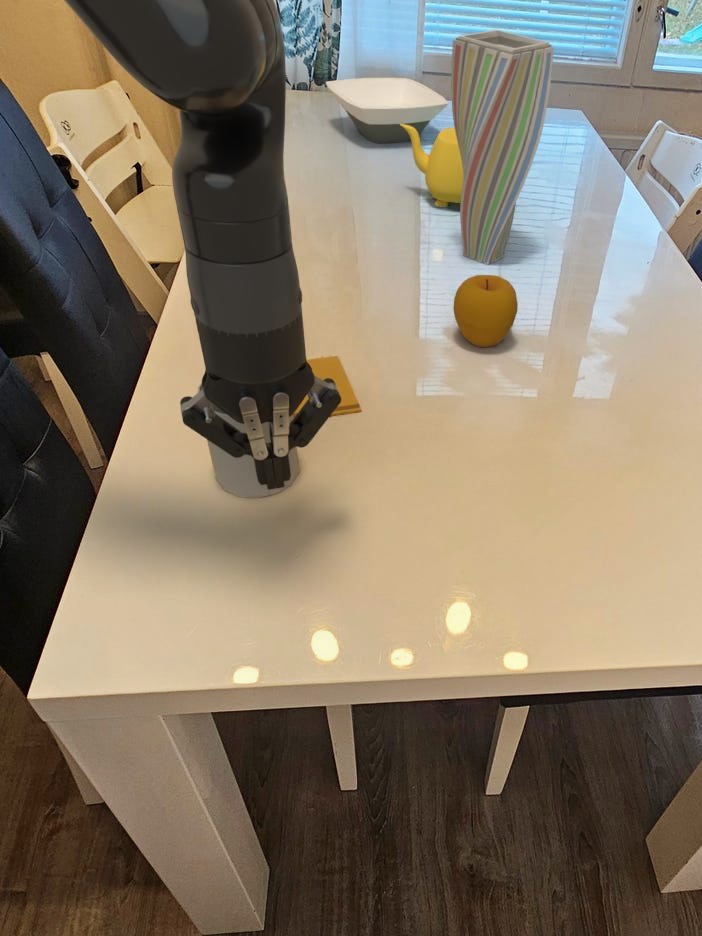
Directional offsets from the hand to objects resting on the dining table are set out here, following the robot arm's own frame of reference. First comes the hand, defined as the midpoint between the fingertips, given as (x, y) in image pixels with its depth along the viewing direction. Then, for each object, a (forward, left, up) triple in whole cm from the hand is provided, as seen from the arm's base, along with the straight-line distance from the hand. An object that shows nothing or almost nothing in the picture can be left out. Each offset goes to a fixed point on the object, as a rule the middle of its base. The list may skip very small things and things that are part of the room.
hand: (274, 482), depth 63 cm
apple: (+32, +29, -7) cm, 44 cm away
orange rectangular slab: (+4, +23, -6) cm, 24 cm away
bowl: (+43, +116, -7) cm, 124 cm away
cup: (-1, +10, -7) cm, 12 cm away
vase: (+42, +54, -7) cm, 69 cm away
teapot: (+45, +78, -7) cm, 90 cm away
